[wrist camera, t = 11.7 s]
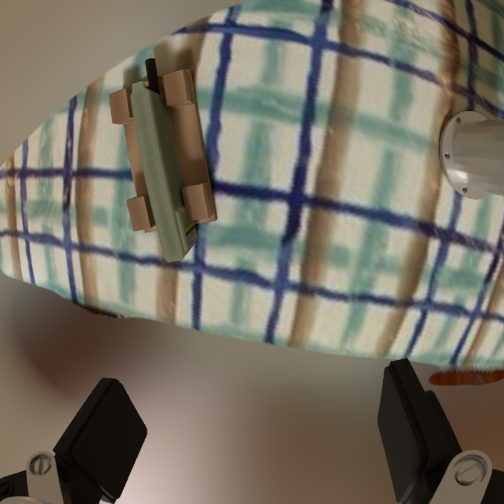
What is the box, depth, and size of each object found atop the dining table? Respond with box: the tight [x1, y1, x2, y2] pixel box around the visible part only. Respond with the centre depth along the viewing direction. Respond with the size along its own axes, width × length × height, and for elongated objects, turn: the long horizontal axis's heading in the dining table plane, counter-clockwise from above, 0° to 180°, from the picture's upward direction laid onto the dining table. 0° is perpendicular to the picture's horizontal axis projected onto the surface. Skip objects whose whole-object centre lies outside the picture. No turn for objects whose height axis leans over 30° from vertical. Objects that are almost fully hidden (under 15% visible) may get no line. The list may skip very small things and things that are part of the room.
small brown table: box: [109, 68, 217, 233], centre depth 34 cm, size 10×20×4 cm, turn 10°
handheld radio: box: [130, 58, 198, 262], centre depth 32 cm, size 7×3×25 cm
